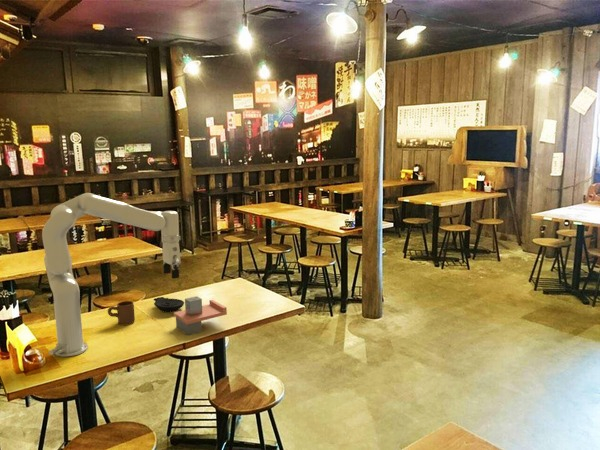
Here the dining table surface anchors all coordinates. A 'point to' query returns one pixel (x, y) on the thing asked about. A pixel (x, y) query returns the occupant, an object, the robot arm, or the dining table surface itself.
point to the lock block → (193, 306)
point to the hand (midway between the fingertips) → (171, 275)
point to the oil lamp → (168, 304)
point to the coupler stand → (198, 317)
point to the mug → (123, 312)
